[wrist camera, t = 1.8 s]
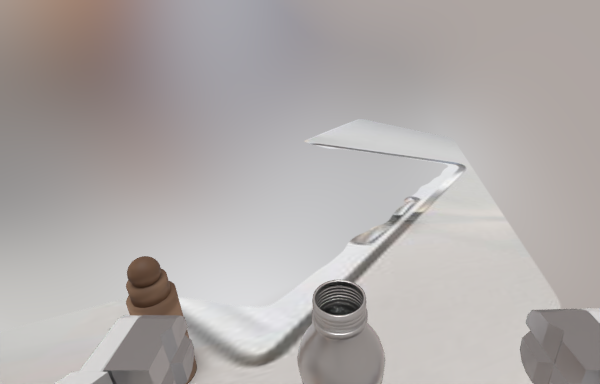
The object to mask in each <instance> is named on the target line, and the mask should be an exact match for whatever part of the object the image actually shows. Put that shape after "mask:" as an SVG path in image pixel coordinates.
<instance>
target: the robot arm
mask: <svg viewBox="0 0 600 384" xmlns="http://www.w3.org/2000/svg"><path fill="white" fill-rule="evenodd" d="M526 324H527V326H528V327H529V329H530V330H531V331H530V332H528V333H527V334H526V335H525V336H524V337H523V338H522V341H521V346H520V352H521V359H522V363H523V366H524V368H525V371H526V373H527V375H528V376H529V378H530V380H531V381H532V383H534V384H600V308H587V309H586V308H584V309H551V310H532V311H531V312H530V313H529V314H528V316H527V320H526ZM187 328H188V326H187V323H186V320H185V317H183V316H180V315H143V316H137V315H124V316H122V317H120V318H119V319H118V320H117V321H116V322H115V323H114V325H113V326H112V327H111V329H110V330H109V332H108V333H107V334H106V336H105V337H104V338H103V340H102V341H101V342H100V344H99V345H98V346H97V348H96V349H95V350H94V352H93V353H92V354H91V356H90V357H89V358H88V360H87V361H86V362H85V364H84V365H83V366H82V368H81V369H80V371H79V372H71V373H70V374H68V375H67V376H65V377H64V378H62V379H61V380H59V381H58V382H56V383H54V384H185V383H187V382H188V380H189V377H190V374H191V372H192V367H193V361H194V348H193V344H192V341H191V340H190V339H189V338H188V337H187V336H186V335H185V333H186V330H187Z"/></svg>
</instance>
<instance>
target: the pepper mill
mask: <svg viewBox="0 0 600 384" xmlns="http://www.w3.org/2000/svg"><path fill="white" fill-rule="evenodd" d="M127 276H128V279H129V280H128V282H127V284H126V288H127V291H128V293H129V296H128V298H127V301H126V305H127V308H128V310H129V313H130V315H137V316H143V315H180V316H183V313H182V310H181V306H180V302H179V299H178V295H177V292H176V288H175V285H174V284H173V283H172V282H170V281H168V277H167V274H166V272H165V271H164V270H163V269H161V268H160V265H159V263H158V262H157V261H156V260H155V259H153V258H151V257H146V256H144V257H139V258H137V259H135V260H134V261H133V262H132V263H131V264H130V266H129V267H128V271H127ZM185 335H186V336H187V337H188V338H189V336H188V332H187V330H186V333H185ZM196 369H197V366H196V361H195V358H194V361H193V367H192V372H191V374H190V377H189V380H188V382H187V383H185V384H188V383H189V382H190V381H191V379H192V378H193V377H194V375H195V373H196Z"/></svg>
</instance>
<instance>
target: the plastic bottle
mask: <svg viewBox="0 0 600 384" xmlns="http://www.w3.org/2000/svg"><path fill="white" fill-rule="evenodd" d="M312 321H313V323H312V324H311V325H310V327H309V328H308V329H307V331H306V332H305V334H304V335H303V337H302V340H301V343H300V346H299V350H298V356H297V358H298V367H299V372H300V376H301V379H302V382H303V384H381V383H382V379H383V375H384V367H385V353H384V350H383V347H382V344H381V341H380V339H379V337H378V335H377V333H376V332H375V331H374V329H373V328H372V327H371V326H370V325H369V324H368V323H367V309H366V296H365V293H364V291H363V289H362V288H361V287H360V286H358V285H357V284H355V283H353V282H350V281H347V280H332V281H328V282H326V283H324V284H322V285H320V286H319V287H318V288H317V289H316V290H315V292H314V294H313V310H312Z"/></svg>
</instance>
